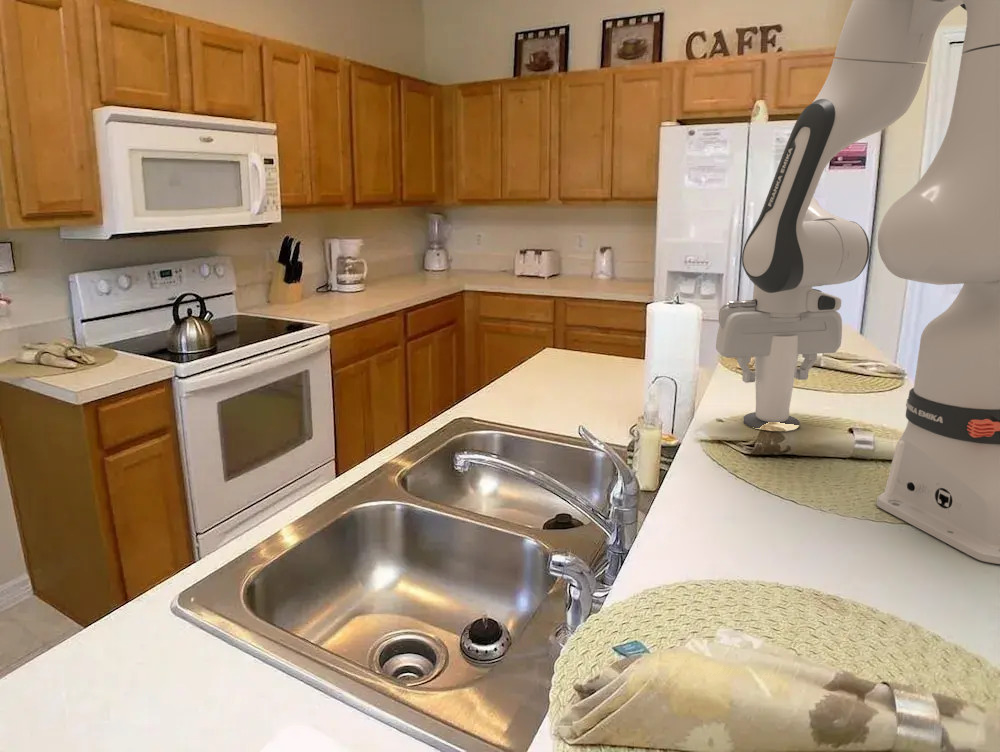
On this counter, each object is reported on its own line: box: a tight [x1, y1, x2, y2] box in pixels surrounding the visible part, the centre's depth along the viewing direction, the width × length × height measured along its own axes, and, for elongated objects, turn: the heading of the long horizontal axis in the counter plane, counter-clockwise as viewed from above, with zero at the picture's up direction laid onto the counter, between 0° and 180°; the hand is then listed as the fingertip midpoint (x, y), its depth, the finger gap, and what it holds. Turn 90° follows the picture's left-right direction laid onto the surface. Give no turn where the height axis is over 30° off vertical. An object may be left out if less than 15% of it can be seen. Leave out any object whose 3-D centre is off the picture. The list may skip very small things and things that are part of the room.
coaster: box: [743, 411, 801, 429], centre depth 118 cm, size 9×9×1 cm
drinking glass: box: [754, 335, 799, 422], centre depth 116 cm, size 7×7×15 cm
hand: (774, 380), depth 116 cm, fingers open, 8 cm apart
